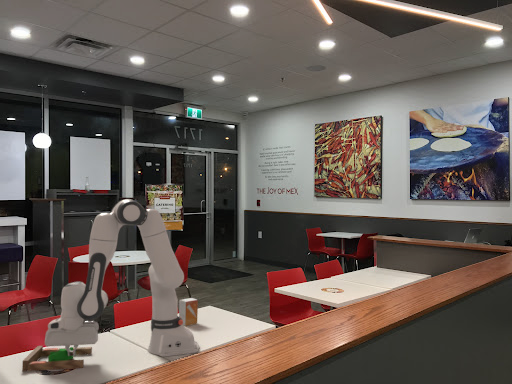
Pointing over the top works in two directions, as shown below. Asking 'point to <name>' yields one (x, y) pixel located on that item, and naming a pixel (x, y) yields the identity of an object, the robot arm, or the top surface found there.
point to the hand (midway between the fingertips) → (71, 355)
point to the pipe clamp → (60, 355)
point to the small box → (188, 311)
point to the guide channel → (33, 365)
